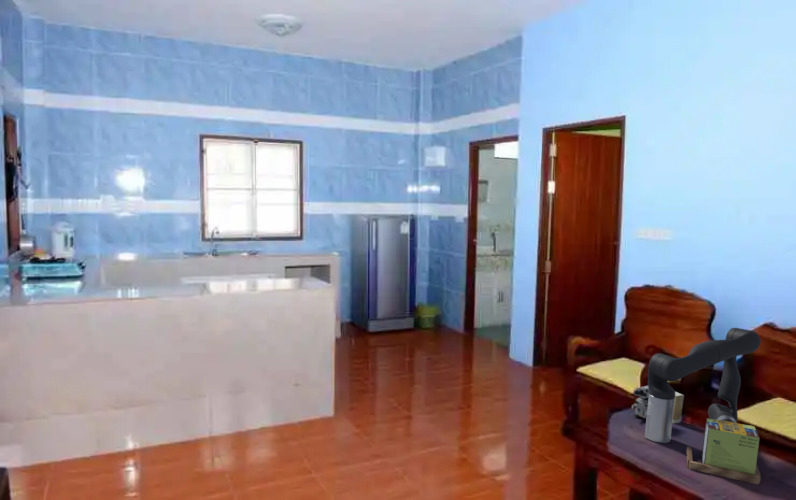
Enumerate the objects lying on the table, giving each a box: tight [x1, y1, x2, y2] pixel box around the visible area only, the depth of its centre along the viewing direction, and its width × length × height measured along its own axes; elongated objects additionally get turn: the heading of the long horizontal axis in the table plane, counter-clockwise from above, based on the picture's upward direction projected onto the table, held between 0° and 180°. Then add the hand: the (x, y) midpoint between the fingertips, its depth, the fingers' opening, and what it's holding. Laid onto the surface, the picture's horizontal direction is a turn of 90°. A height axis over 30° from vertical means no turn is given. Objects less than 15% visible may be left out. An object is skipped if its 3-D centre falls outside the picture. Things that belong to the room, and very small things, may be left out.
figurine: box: [631, 384, 649, 419], centre depth 243 cm, size 9×12×15 cm
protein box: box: [701, 417, 761, 475], centre depth 202 cm, size 10×15×16 cm
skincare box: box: [672, 391, 685, 424], centre depth 246 cm, size 6×4×12 cm
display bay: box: [686, 446, 762, 485], centre depth 203 cm, size 22×14×2 cm, turn 65°
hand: (732, 444), depth 206 cm, fingers closed
